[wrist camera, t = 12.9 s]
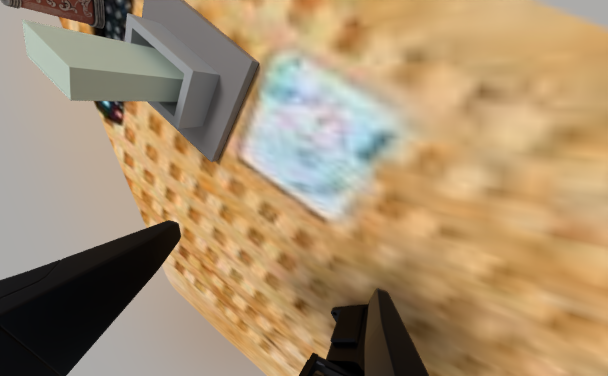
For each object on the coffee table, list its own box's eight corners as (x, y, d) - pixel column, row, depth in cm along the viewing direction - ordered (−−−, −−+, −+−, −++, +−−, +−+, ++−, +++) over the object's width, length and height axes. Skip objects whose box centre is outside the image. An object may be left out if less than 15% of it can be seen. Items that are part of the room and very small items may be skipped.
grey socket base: (218, 160, 26) (188, 168, 23) (142, 89, 28) (104, 87, 24) (259, 62, 20) (227, 54, 16) (157, -22, 21) (109, -46, 18)
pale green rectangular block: (195, 101, 23) (70, 100, 15) (160, 69, 24) (22, 50, 15) (201, 81, 22) (69, 66, 13) (164, 47, 23) (16, 13, 14)
